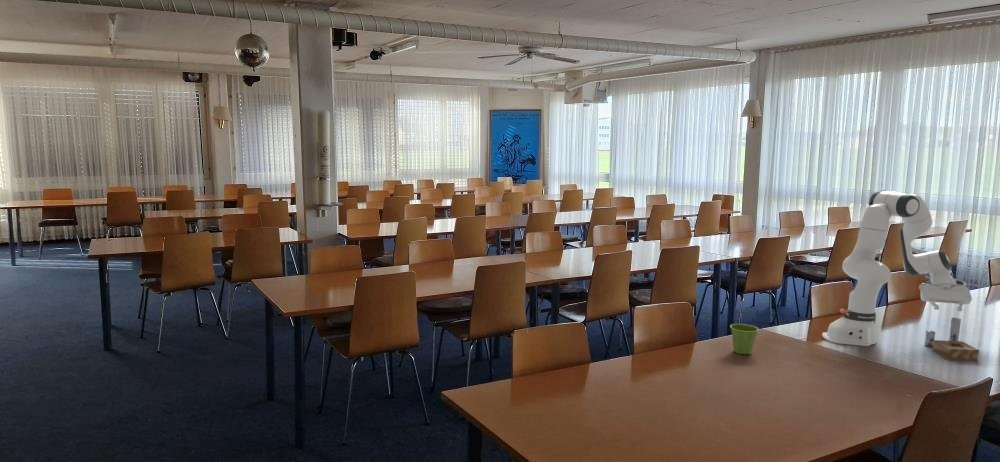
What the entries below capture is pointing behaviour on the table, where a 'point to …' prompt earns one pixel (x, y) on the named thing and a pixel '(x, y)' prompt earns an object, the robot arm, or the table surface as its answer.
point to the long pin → (954, 329)
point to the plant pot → (743, 337)
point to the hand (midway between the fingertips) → (948, 309)
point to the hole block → (955, 350)
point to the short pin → (929, 338)
